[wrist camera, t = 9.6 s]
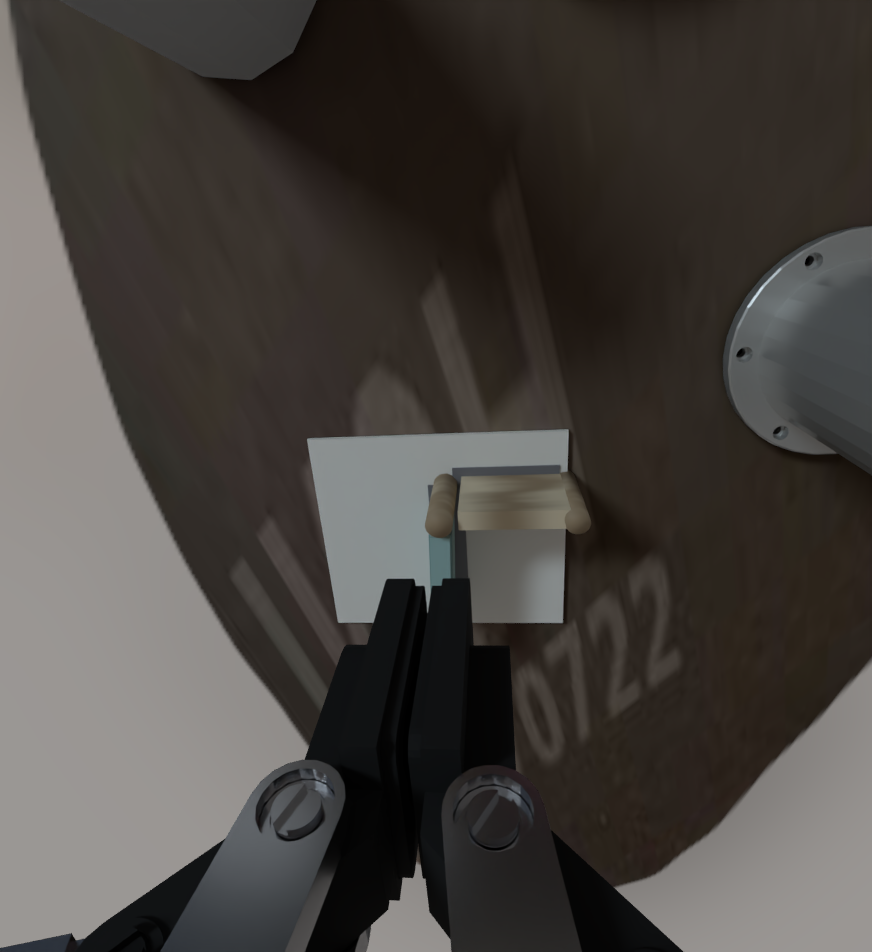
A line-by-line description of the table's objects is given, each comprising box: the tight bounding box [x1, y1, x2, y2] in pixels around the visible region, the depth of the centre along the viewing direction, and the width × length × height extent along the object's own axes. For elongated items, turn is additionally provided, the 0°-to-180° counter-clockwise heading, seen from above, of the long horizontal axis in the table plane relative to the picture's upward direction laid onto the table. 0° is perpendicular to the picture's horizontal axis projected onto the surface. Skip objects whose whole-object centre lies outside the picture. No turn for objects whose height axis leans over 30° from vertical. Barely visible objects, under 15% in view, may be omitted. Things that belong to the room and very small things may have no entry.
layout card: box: [307, 429, 569, 623], centre depth 39 cm, size 17×15×1 cm
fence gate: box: [429, 518, 455, 589], centre depth 37 cm, size 9×1×5 cm, turn 1°
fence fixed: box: [425, 470, 591, 538], centre depth 34 cm, size 9×2×6 cm, turn 93°
